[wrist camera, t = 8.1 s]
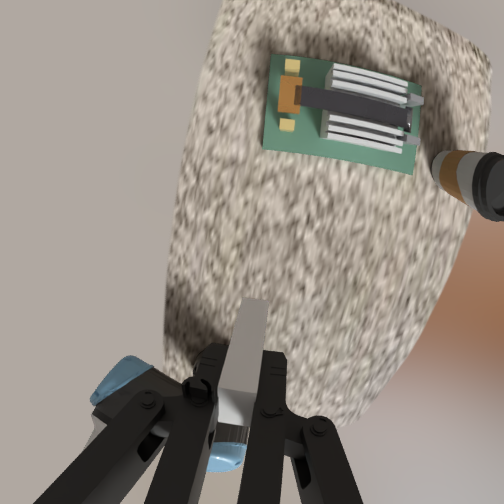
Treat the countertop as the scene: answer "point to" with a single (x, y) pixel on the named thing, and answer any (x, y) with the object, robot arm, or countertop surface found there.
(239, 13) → the countertop surface
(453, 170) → the coffee cup
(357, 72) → the heatsink base
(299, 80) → the strap
